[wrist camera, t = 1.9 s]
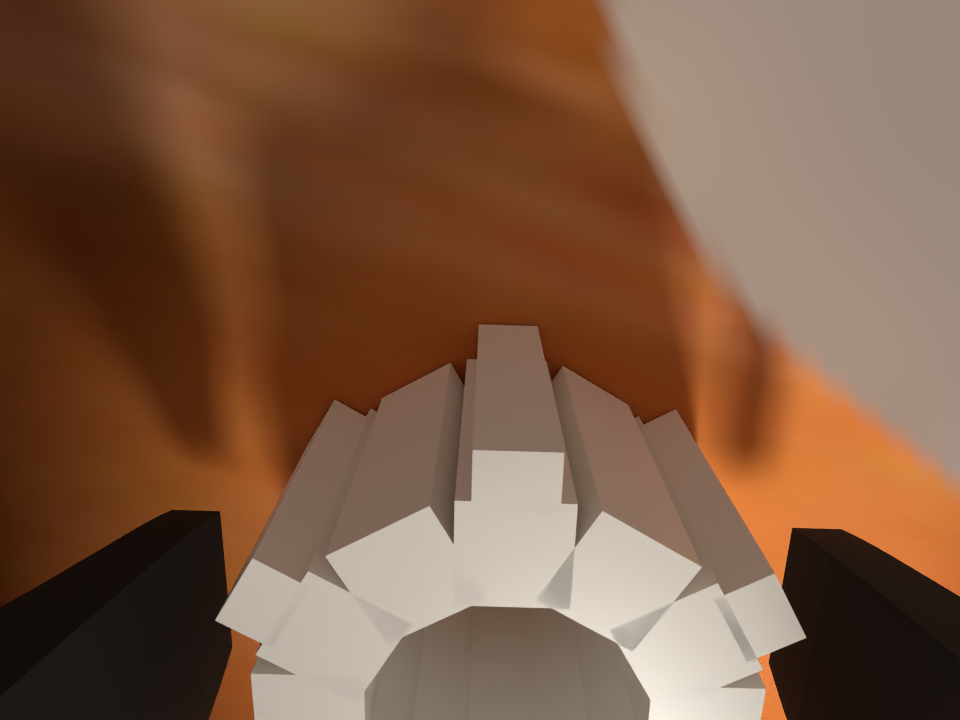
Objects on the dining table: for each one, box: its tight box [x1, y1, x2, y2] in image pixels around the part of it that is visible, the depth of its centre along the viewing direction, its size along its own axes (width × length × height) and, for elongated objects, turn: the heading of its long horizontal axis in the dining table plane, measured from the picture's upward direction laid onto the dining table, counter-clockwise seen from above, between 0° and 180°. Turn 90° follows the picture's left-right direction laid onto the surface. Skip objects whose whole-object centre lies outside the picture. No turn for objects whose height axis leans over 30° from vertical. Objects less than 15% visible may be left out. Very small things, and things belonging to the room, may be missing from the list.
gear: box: [215, 324, 806, 720], centre depth 10 cm, size 6×6×4 cm
